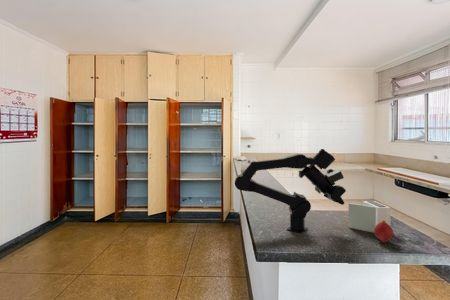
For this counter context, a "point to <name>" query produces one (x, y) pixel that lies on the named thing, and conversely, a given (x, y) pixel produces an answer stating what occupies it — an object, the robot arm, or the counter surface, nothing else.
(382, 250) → the counter surface
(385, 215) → the box
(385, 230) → the onion
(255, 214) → the counter surface
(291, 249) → the counter surface
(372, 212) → the door
